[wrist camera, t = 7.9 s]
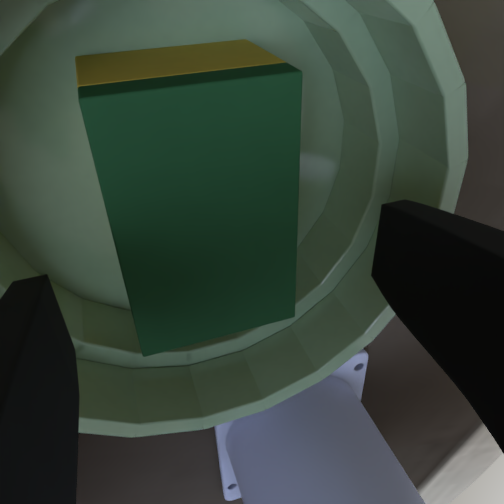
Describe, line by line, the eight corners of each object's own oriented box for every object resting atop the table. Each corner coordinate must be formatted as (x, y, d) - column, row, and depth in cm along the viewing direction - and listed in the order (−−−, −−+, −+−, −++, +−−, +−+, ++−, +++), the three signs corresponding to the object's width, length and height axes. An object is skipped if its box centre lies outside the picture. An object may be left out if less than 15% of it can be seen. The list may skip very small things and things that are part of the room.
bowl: (346, 279, 20) (415, 364, 16) (21, 361, 17) (8, 492, 13) (390, -106, 12) (545, -126, 8) (-197, -94, 9) (-399, -117, 5)
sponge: (254, 249, 16) (295, 317, 13) (127, 276, 15) (142, 358, 12) (246, 38, 12) (304, 70, 9) (74, 56, 11) (77, 98, 8)
